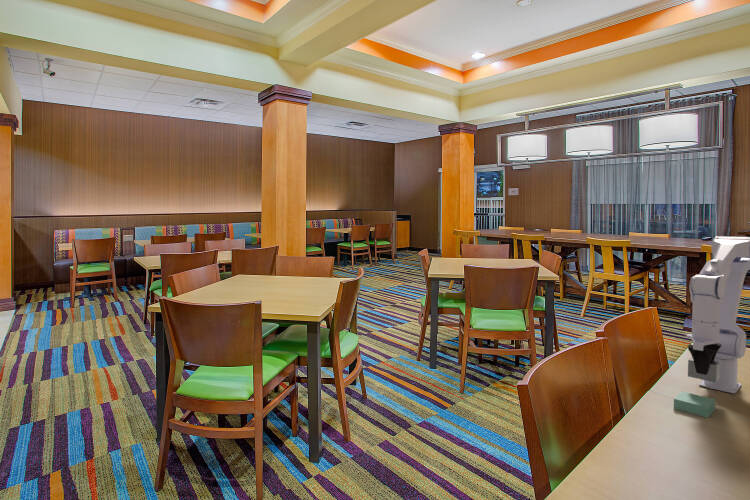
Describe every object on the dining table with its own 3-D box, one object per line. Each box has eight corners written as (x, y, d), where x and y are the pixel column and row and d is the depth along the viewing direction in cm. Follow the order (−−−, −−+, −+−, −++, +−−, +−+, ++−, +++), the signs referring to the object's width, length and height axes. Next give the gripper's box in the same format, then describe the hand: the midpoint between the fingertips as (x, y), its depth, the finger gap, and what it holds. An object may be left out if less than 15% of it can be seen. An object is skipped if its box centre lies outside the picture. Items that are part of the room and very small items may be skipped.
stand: (681, 400, 112) (681, 391, 112) (714, 409, 107) (715, 399, 107) (673, 408, 108) (673, 398, 108) (708, 417, 102) (708, 407, 102)
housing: (691, 372, 116) (692, 356, 116) (719, 378, 112) (720, 361, 111) (687, 376, 114) (688, 359, 113) (716, 382, 109) (716, 365, 109)
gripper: (694, 314, 119) (692, 361, 120) (679, 322, 110) (677, 374, 111) (726, 318, 114) (724, 367, 115) (713, 327, 105) (711, 381, 105)
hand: (703, 371), depth 113 cm, fingers closed on housing, 4 cm apart
